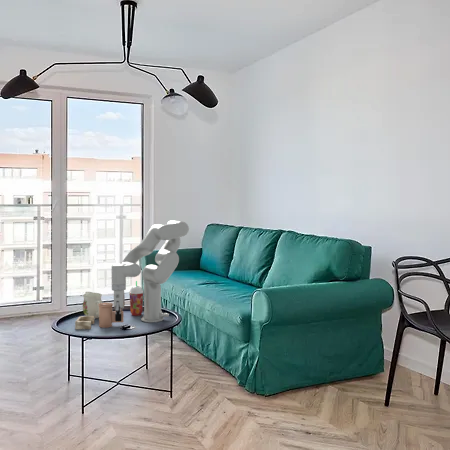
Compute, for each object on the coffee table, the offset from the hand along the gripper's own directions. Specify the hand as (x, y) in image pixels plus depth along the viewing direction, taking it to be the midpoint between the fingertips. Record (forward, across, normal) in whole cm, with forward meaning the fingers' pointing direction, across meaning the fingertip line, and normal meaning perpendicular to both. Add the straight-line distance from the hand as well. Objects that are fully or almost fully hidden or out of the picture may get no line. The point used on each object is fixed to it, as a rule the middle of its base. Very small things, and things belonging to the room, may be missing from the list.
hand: (118, 319), depth 276 cm
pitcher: (+4, +17, +16) cm, 24 cm away
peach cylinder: (+3, 0, +4) cm, 5 cm away
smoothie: (+4, +23, -8) cm, 24 cm away
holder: (+3, 0, +18) cm, 19 cm away
